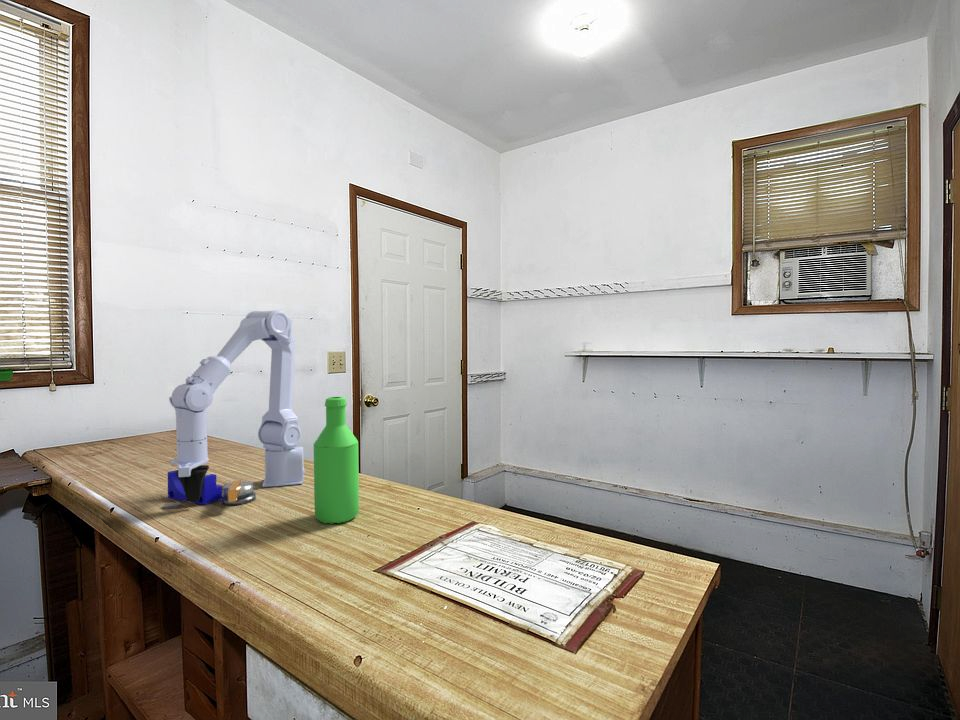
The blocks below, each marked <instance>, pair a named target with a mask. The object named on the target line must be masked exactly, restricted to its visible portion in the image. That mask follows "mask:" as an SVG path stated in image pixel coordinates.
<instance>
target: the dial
mask: <svg viewBox="0 0 960 720" xmlns="http://www.w3.org/2000/svg"><path fill="white" fill-rule="evenodd" d="M253 492H254V482H251V481H248V480H245V481H244V480H243V481H242V480H241V479H240V480H233V482H231V483H227V484H225V485H224V486H223V496H224V498H227V499H228V502H232V501H237V499H239V498H245V497H248V496H251V495H252V494H253Z"/></svg>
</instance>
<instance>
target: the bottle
mask: <svg viewBox="0 0 960 720" xmlns="http://www.w3.org/2000/svg"><path fill="white" fill-rule="evenodd" d="M347 403H348V402H347V398H346V397H344V396H330V397H327V398H326V399H325V403H324V406H325V422H326V423H325V427H324V428H323V429H322V431H321V432H320V434H319V435H318V437H317V439H316V440H315V442H314V443H313V485H314V487H313V491H314V494H313V495H314V497H313V498H314V517H315V519H317V520H318V521H319V522H321V523H323V522H324V523H323V524H327V523H337V524H342V522H343V523H347V522H349V521H351V520H353V519H354V518H355V517H356V516H357V515H359V511H360V497H359V496H360V494H359V493H360V489H359V488H360V484H359V483H360V480H359V473H360V471H359V468H360V467H359V441H358V439H357V437H356V436H355V435H354V434H353V432H352V431H351V429H350V428H349V427H348V425H347V424H346V423H347V422H346V406H347V405H348V404H347ZM346 521H347V522H346Z"/></svg>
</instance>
